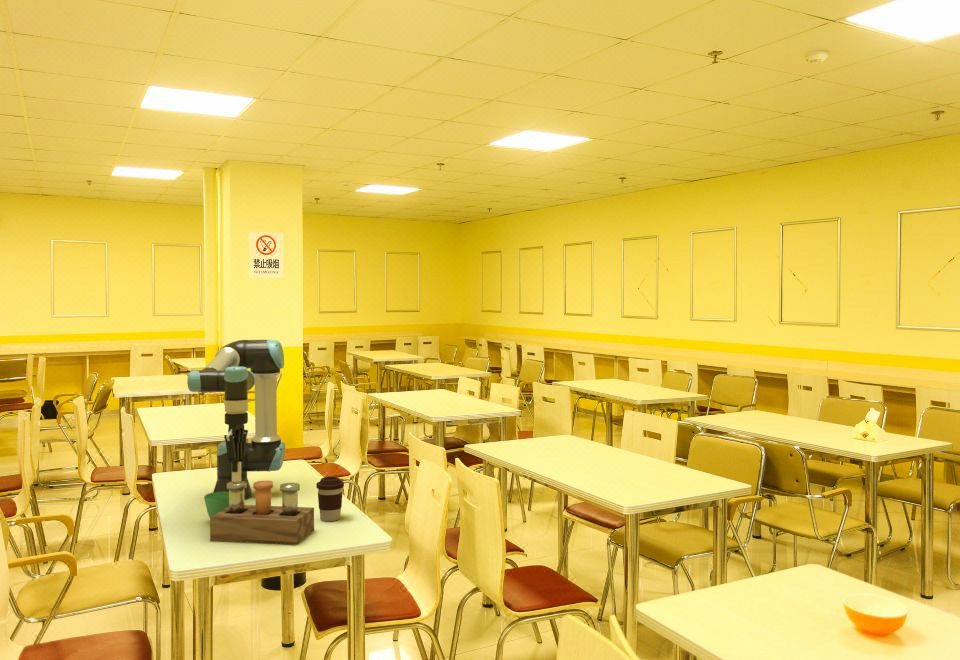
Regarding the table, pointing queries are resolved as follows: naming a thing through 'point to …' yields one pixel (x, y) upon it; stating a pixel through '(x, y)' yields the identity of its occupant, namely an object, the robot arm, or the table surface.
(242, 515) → the brown wooden block
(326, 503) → the coffee cup
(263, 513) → the plunger
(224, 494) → the mug
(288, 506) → the plunger
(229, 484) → the plunger
